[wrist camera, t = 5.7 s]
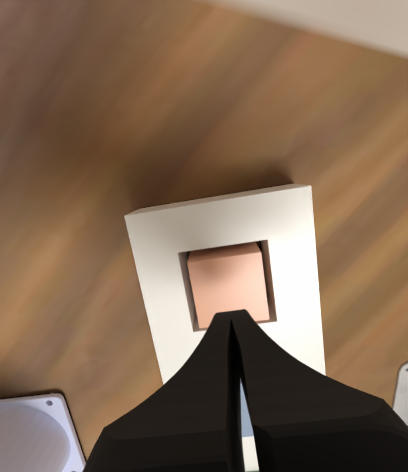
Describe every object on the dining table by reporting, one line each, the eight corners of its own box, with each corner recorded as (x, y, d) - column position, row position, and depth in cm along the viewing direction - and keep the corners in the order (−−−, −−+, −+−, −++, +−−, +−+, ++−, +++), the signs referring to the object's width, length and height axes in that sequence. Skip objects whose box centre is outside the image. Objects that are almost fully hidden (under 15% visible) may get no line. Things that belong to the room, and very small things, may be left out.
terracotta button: (202, 303, 18) (199, 328, 15) (191, 247, 17) (187, 262, 15) (260, 295, 18) (269, 319, 15) (253, 238, 17) (261, 252, 14)
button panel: (204, 505, 23) (202, 552, 20) (139, 208, 18) (124, 215, 15) (322, 496, 22) (338, 544, 20) (294, 183, 17) (311, 185, 14)
